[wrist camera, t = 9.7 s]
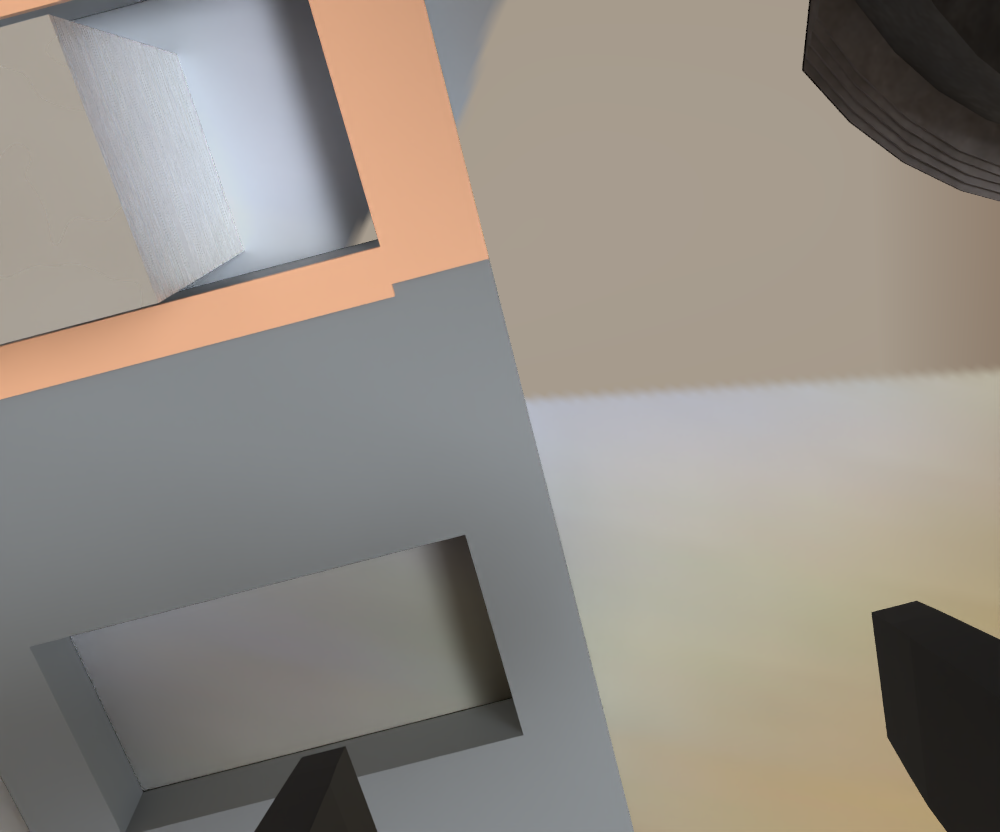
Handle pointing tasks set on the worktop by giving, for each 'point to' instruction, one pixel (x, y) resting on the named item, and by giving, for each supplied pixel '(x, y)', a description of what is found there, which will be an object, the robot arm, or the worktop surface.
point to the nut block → (99, 178)
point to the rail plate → (298, 485)
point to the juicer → (915, 81)
